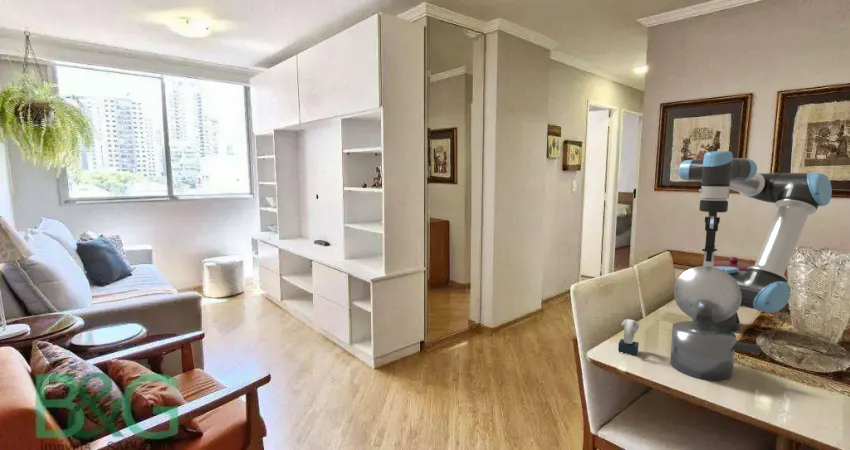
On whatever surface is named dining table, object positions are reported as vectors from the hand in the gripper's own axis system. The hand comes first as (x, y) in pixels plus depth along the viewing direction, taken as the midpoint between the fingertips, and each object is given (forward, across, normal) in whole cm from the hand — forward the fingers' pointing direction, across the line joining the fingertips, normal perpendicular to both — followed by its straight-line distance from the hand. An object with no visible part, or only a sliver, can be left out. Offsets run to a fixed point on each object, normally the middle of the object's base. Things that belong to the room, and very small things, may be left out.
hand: (707, 270), depth 134 cm
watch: (+28, +16, -20) cm, 38 cm away
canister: (+27, -70, +9) cm, 76 cm away
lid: (+7, +6, 0) cm, 9 cm away
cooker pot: (+28, +15, +3) cm, 32 cm away
